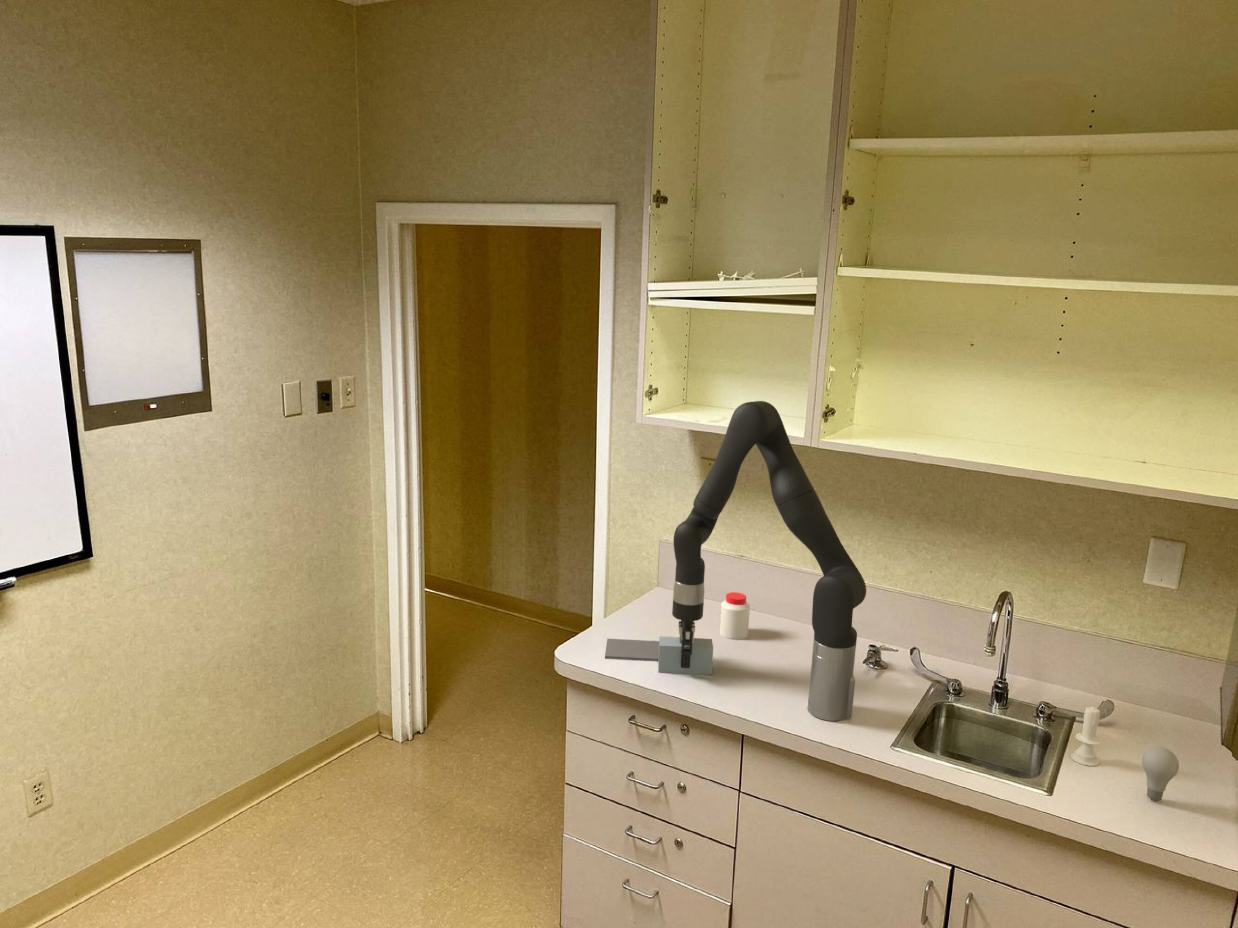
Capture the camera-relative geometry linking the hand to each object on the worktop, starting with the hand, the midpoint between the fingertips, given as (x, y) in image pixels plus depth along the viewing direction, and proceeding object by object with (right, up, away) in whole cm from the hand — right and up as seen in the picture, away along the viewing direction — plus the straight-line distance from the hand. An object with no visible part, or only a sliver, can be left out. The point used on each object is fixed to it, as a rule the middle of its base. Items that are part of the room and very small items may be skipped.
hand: (684, 660), depth 223 cm
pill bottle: (+15, +2, +23) cm, 27 cm away
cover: (0, -2, 0) cm, 2 cm away
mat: (-13, 0, +10) cm, 16 cm away
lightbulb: (+87, -16, -49) cm, 101 cm away
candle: (+81, -13, -35) cm, 89 cm away
